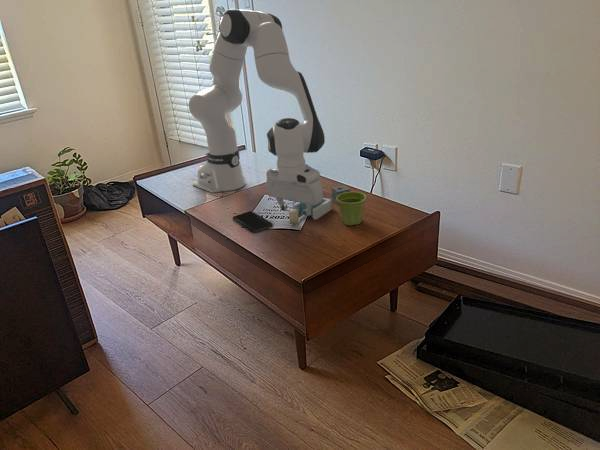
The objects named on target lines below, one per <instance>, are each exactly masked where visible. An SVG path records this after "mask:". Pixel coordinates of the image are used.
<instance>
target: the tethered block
mask: <svg viewBox="0 0 600 450" xmlns="http://www.w3.org/2000/svg"><path fill="white" fill-rule="evenodd" d="M300 203H301V202H300ZM320 204H321V203H319V204H317V205H313V206H312V208H311V214H310V215H309V216H307V215H304V210H306V209H307V207H308V206H306V203H301V212H300V214H301V213H302V214H301V216H300V217H299V214H298V210H296V209H293V208H292V209H290V210H289V211H288V215H289V224H292V225H291V226H297V225H296V224H298V223H299V222H300V221H302V220H304V219H305V218H306V216H307V217H312V218H313V209H314V208H315V207H317V206H319V205H320ZM304 217H305V218H304ZM301 219H302V220H301ZM299 220H300V221H299ZM298 221H299V222H298ZM298 225H299V224H298Z"/></svg>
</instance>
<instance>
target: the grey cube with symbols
mask: <svg viewBox="0 0 600 450" xmlns="http://www.w3.org/2000/svg"><path fill="white" fill-rule="evenodd" d="M345 192H352V191H351V188H350V187H348V186H346V184H342V185H338V186H337V185H336V186H332V187H331V199H332V202H334V204H336V205H337V206H339V204H338V201H337V199H336V197H337V196H338V195H339V194H342V193H345Z"/></svg>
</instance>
